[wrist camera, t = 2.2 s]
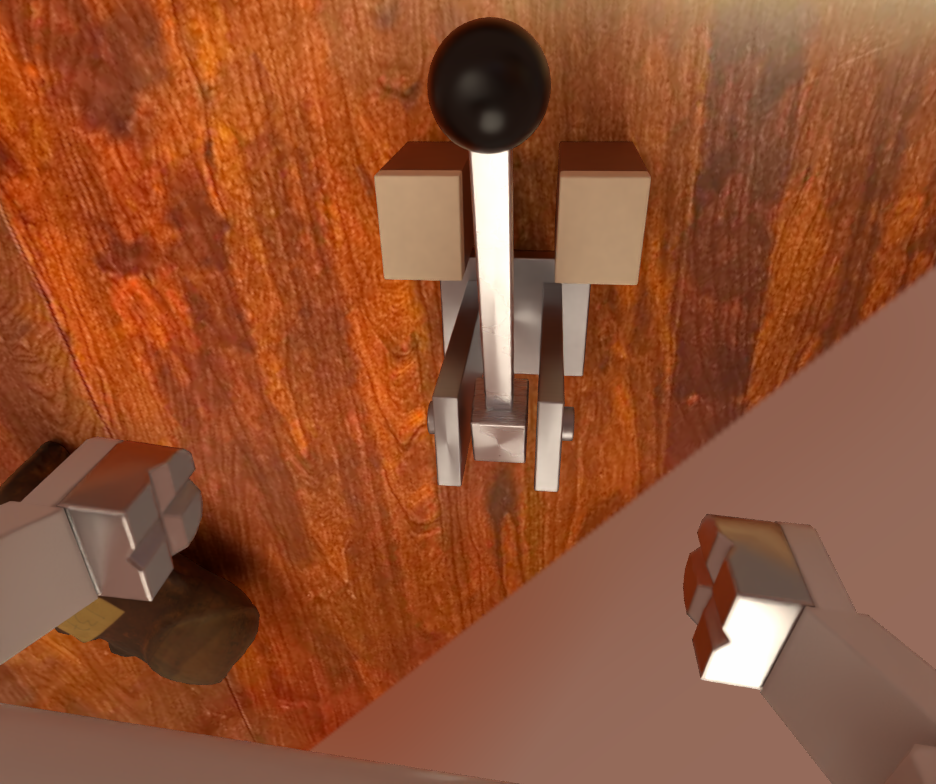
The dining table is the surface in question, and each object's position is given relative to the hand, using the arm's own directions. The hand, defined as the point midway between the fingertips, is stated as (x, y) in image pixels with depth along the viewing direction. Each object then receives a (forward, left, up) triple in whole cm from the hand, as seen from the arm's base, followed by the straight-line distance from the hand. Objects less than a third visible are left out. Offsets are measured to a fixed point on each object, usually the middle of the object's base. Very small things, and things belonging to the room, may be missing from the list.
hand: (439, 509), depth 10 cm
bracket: (0, +8, -25) cm, 27 cm away
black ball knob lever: (0, +1, -13) cm, 13 cm away
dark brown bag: (+29, +29, -26) cm, 48 cm away
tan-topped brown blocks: (0, +1, -25) cm, 25 cm away
